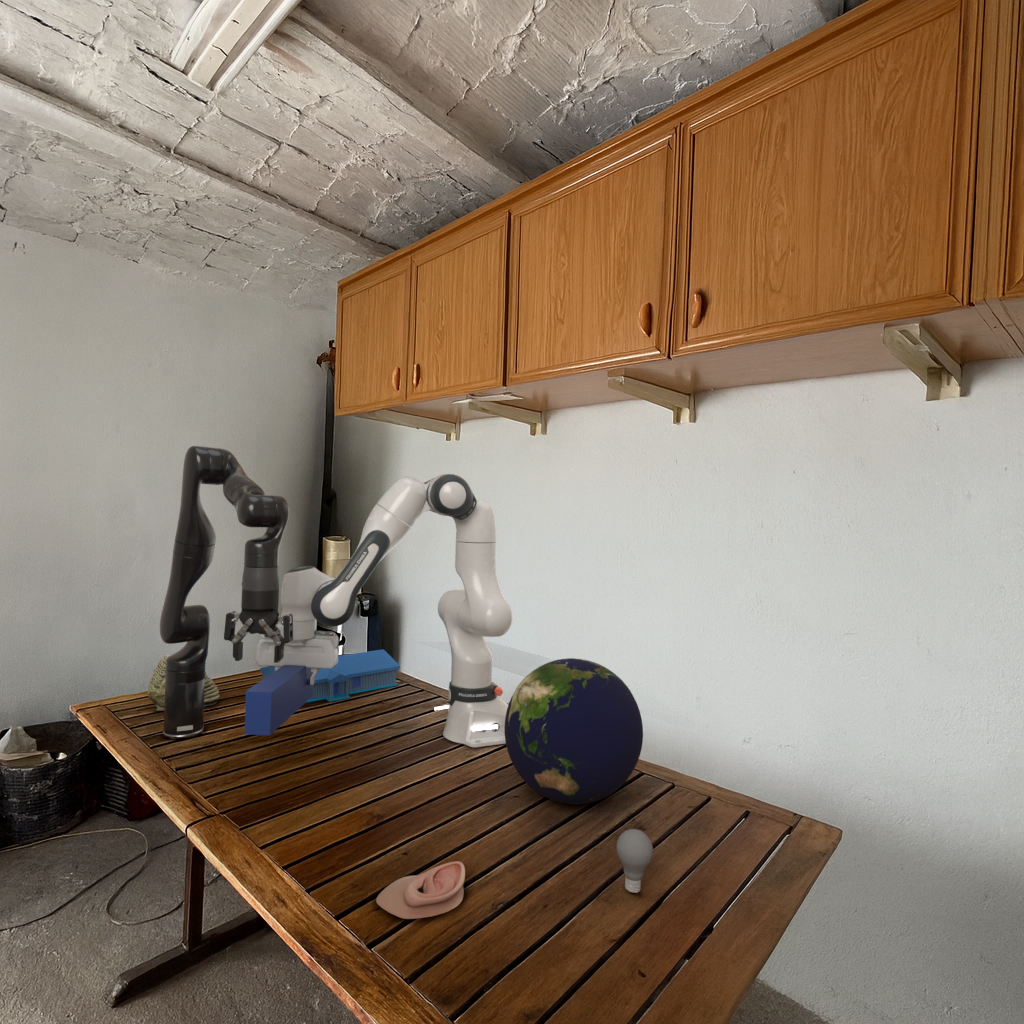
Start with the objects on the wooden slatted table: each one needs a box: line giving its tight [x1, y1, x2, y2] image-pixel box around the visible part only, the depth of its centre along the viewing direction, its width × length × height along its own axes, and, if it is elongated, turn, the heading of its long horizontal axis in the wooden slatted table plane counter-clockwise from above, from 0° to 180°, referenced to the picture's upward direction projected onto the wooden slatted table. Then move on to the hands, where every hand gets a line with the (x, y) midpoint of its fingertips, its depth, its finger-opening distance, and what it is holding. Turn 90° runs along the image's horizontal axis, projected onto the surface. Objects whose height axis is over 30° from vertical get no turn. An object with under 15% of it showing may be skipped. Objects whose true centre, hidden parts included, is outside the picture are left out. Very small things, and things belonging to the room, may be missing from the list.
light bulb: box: [615, 828, 654, 894], centre depth 106 cm, size 6×6×10 cm
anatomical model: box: [375, 860, 466, 920], centre depth 101 cm, size 13×4×12 cm
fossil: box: [147, 654, 221, 712], centre depth 185 cm, size 9×18×15 cm, turn 132°
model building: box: [259, 649, 401, 704], centre depth 208 cm, size 39×24×10 cm, turn 132°
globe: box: [504, 657, 644, 805], centre depth 138 cm, size 30×30×30 cm
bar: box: [244, 665, 313, 736], centre depth 152 cm, size 28×6×10 cm, turn 179°
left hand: (257, 661), depth 138 cm, fingers open, 8 cm apart
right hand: (296, 683), depth 161 cm, fingers closed on bar, 5 cm apart
